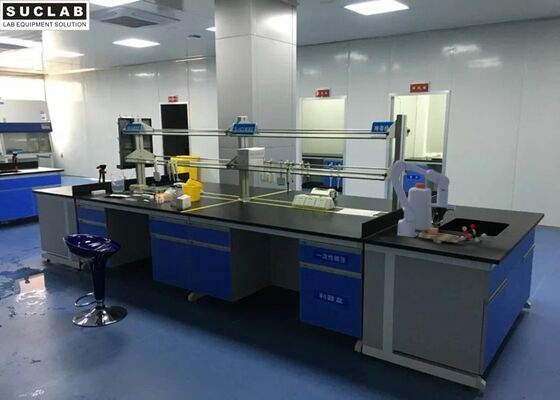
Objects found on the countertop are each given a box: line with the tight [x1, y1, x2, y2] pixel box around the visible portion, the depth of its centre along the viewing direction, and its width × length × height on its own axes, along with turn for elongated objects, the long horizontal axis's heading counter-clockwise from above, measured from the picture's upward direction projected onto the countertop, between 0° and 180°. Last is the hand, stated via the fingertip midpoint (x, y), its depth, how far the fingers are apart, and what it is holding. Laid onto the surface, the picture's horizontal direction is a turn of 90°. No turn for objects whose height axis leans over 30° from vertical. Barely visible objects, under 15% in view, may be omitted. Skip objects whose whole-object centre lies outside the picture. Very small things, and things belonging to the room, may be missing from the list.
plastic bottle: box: [407, 182, 433, 232], centre depth 265 cm, size 15×15×28 cm
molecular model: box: [459, 224, 488, 243], centre depth 236 cm, size 16×8×10 cm, turn 115°
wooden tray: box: [418, 230, 460, 244], centre depth 235 cm, size 20×7×5 cm, turn 53°
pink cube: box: [428, 227, 439, 235], centre depth 237 cm, size 4×4×4 cm
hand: (440, 220), depth 242 cm, fingers closed
